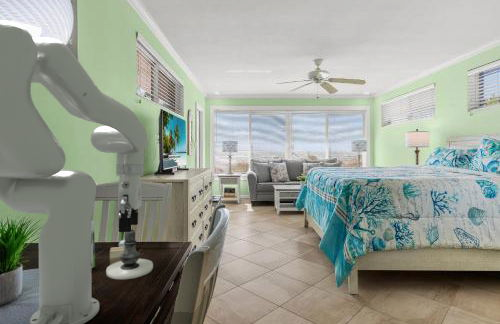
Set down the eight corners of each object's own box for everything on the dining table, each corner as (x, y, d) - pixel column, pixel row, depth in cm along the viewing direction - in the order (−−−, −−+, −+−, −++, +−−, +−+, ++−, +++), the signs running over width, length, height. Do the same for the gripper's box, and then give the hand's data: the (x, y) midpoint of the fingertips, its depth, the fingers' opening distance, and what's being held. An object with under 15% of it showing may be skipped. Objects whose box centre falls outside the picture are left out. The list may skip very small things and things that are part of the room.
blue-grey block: (130, 254, 102) (130, 243, 102) (118, 255, 101) (118, 243, 101) (133, 250, 106) (133, 239, 106) (121, 251, 105) (121, 240, 105)
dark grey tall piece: (133, 270, 84) (133, 229, 84) (115, 269, 85) (115, 228, 85) (144, 263, 90) (144, 224, 90) (126, 262, 91) (126, 224, 91)
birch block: (123, 262, 94) (123, 250, 94) (109, 264, 93) (109, 251, 93) (123, 258, 98) (123, 246, 98) (110, 259, 97) (110, 247, 96)
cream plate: (149, 277, 83) (149, 273, 82) (100, 280, 80) (100, 276, 80) (155, 261, 95) (155, 257, 95) (113, 263, 93) (113, 259, 93)
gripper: (137, 171, 79) (136, 234, 79) (147, 170, 96) (146, 222, 96) (107, 171, 78) (106, 235, 77) (123, 170, 95) (122, 222, 94)
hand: (128, 228), depth 87 cm, fingers open, 9 cm apart
